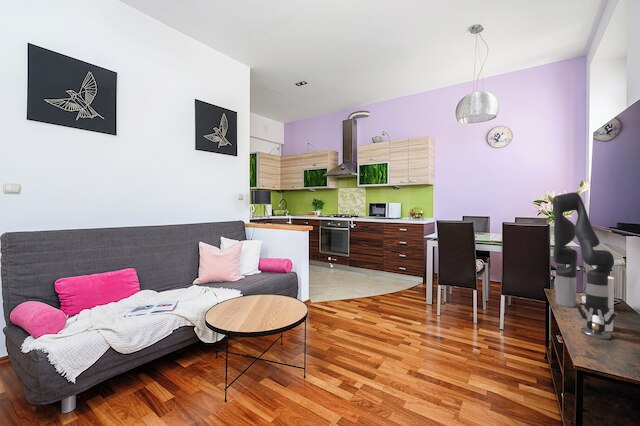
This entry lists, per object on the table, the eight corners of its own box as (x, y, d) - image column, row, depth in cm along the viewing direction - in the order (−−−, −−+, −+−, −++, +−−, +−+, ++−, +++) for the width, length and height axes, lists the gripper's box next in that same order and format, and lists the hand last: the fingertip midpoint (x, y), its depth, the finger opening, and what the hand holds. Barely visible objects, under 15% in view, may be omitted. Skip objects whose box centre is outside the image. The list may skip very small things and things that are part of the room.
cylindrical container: (606, 325, 144) (607, 275, 143) (616, 332, 137) (618, 279, 136) (589, 324, 146) (590, 274, 145) (598, 330, 139) (599, 278, 138)
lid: (576, 328, 141) (576, 318, 141) (602, 331, 138) (602, 320, 138) (589, 337, 131) (589, 326, 131) (616, 340, 128) (617, 329, 128)
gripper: (574, 291, 138) (573, 327, 138) (616, 299, 126) (615, 338, 127) (579, 288, 142) (578, 323, 142) (620, 295, 130) (619, 333, 131)
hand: (595, 330), depth 135 cm, fingers closed on lid, 3 cm apart
